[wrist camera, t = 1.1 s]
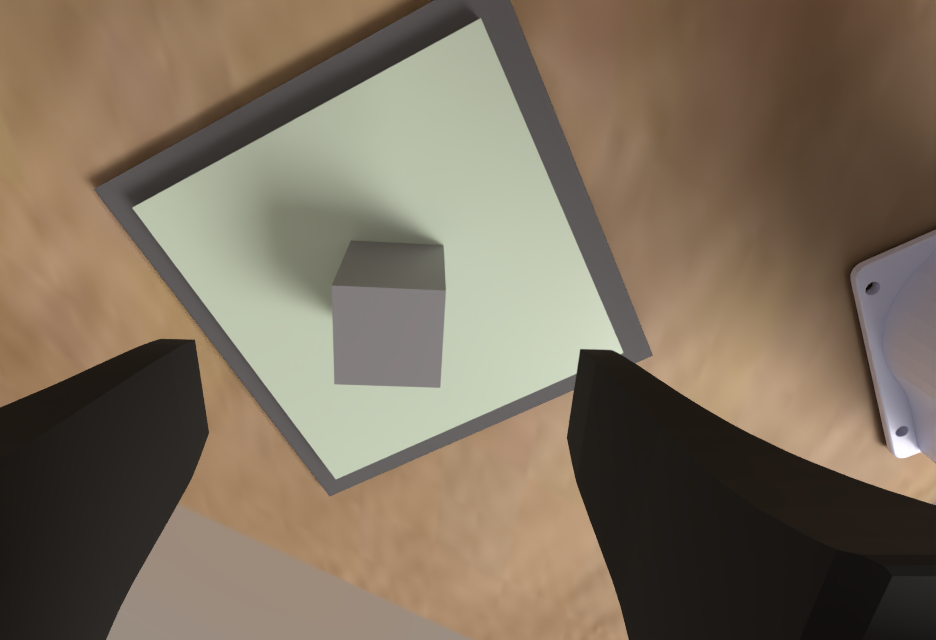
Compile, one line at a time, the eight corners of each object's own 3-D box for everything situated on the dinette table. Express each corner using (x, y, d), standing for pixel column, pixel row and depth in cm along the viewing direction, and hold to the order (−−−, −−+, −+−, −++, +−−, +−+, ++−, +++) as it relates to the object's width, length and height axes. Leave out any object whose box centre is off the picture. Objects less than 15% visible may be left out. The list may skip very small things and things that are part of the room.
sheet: (618, 345, 22) (662, 414, 18) (338, 469, 24) (317, 559, 20) (479, 19, 17) (493, 10, 13) (140, 203, 19) (57, 247, 15)
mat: (649, 350, 23) (652, 355, 22) (331, 489, 25) (329, 496, 24) (494, -33, 17) (496, -34, 17) (100, 186, 19) (93, 189, 19)
